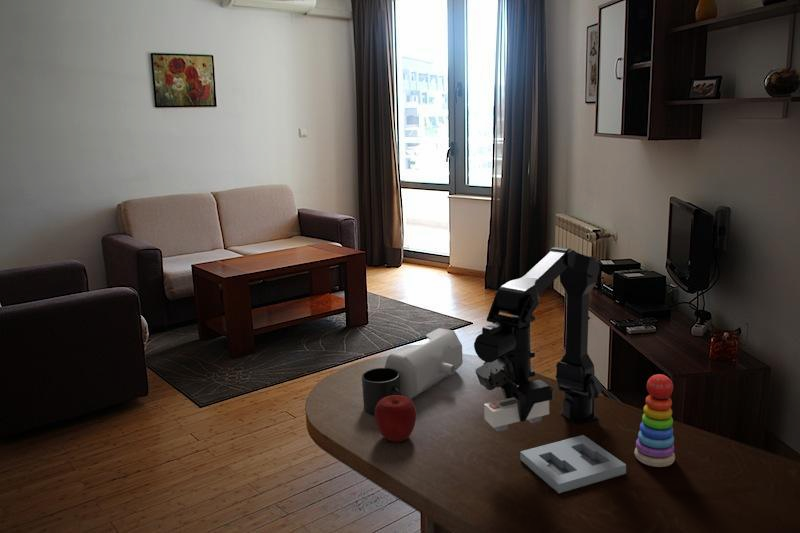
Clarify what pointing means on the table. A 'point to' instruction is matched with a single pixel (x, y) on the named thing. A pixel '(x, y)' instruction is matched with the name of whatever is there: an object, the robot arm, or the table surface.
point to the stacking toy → (656, 425)
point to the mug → (379, 386)
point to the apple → (395, 417)
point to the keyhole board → (572, 463)
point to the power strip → (511, 413)
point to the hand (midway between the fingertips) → (517, 416)
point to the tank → (426, 362)
